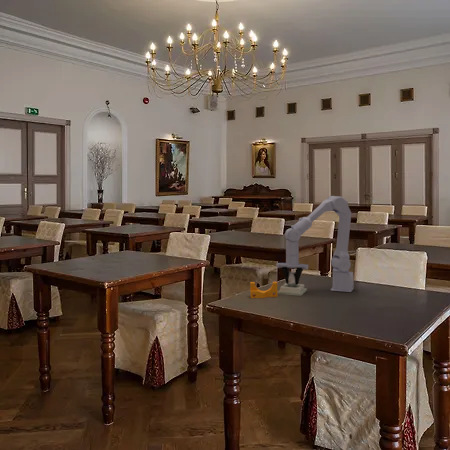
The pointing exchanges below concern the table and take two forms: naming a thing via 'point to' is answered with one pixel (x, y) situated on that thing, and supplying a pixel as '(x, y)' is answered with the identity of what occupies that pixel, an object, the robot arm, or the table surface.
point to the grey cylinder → (292, 279)
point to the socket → (292, 290)
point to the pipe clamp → (262, 294)
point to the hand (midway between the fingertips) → (292, 283)
